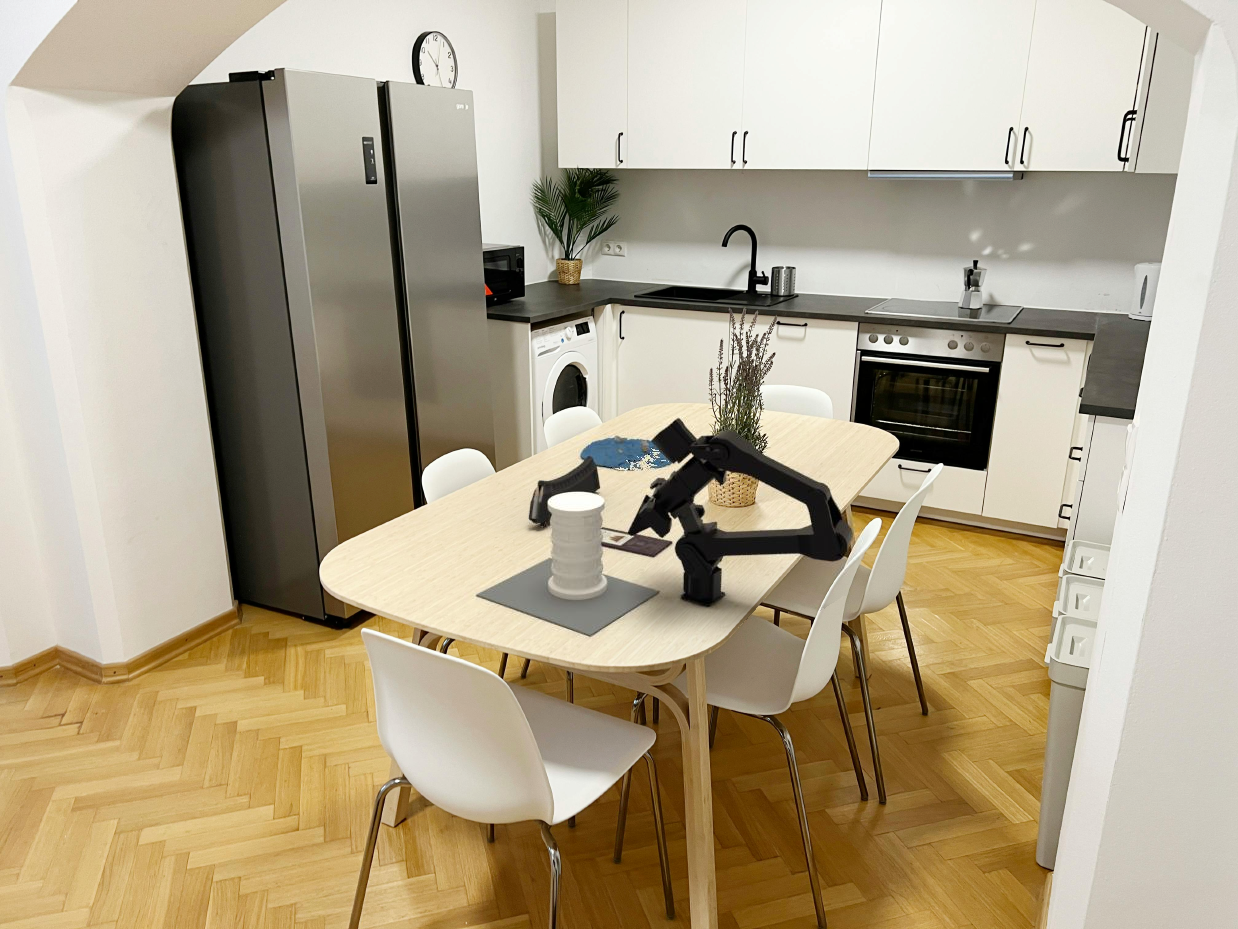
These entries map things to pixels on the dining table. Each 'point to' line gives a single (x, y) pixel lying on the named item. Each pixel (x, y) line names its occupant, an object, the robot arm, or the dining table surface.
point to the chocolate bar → (633, 542)
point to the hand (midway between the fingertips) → (629, 534)
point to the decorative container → (576, 546)
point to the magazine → (563, 489)
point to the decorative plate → (622, 452)
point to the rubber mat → (577, 615)
